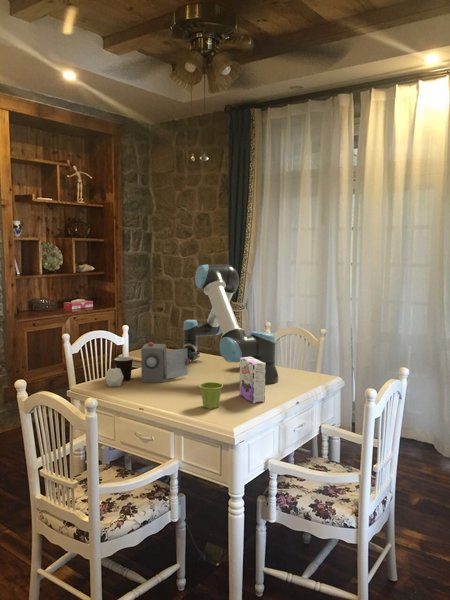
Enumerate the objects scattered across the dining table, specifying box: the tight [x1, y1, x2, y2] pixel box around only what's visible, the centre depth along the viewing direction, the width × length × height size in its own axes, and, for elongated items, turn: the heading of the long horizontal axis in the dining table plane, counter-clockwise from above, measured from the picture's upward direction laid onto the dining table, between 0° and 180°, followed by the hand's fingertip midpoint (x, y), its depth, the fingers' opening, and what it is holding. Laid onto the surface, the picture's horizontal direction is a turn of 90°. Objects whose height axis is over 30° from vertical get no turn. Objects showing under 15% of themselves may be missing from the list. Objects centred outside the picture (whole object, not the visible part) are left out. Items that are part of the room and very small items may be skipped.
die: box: [104, 368, 124, 388], centre depth 232 cm, size 8×9×10 cm
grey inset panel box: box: [140, 341, 167, 383], centre depth 243 cm, size 14×10×17 cm
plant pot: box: [198, 381, 224, 410], centre depth 201 cm, size 9×9×9 cm
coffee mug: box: [113, 356, 133, 382], centre depth 245 cm, size 12×9×10 cm
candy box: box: [239, 357, 266, 404], centre depth 212 cm, size 14×6×16 cm, turn 22°
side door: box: [163, 348, 190, 380], centre depth 242 cm, size 13×2×13 cm, turn 129°
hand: (184, 361), depth 248 cm, fingers closed
